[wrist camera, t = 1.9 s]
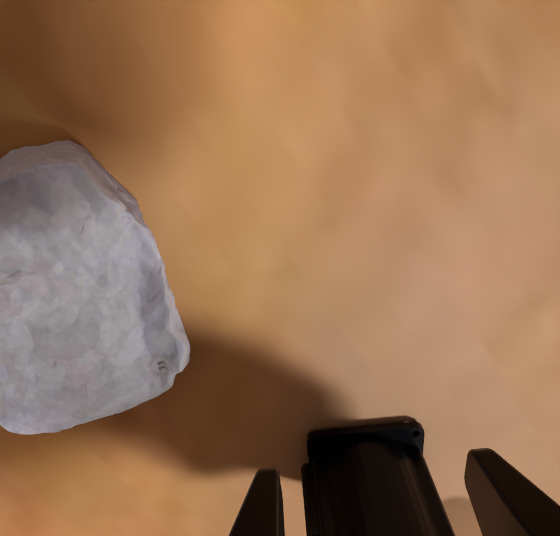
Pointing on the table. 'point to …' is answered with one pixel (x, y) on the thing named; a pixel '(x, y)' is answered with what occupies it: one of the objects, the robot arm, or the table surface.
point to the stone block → (78, 295)
